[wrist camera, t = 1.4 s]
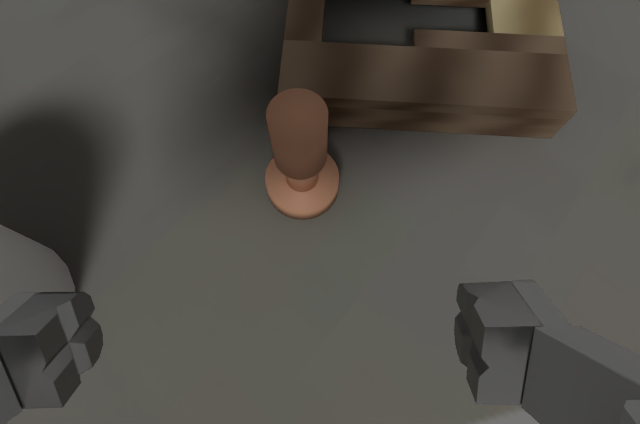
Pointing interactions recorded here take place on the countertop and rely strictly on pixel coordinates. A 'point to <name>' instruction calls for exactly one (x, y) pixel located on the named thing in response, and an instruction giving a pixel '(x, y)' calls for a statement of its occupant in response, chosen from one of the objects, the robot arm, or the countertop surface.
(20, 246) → the mug
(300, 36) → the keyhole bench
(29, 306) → the robot arm
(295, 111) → the peg
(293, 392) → the countertop surface
